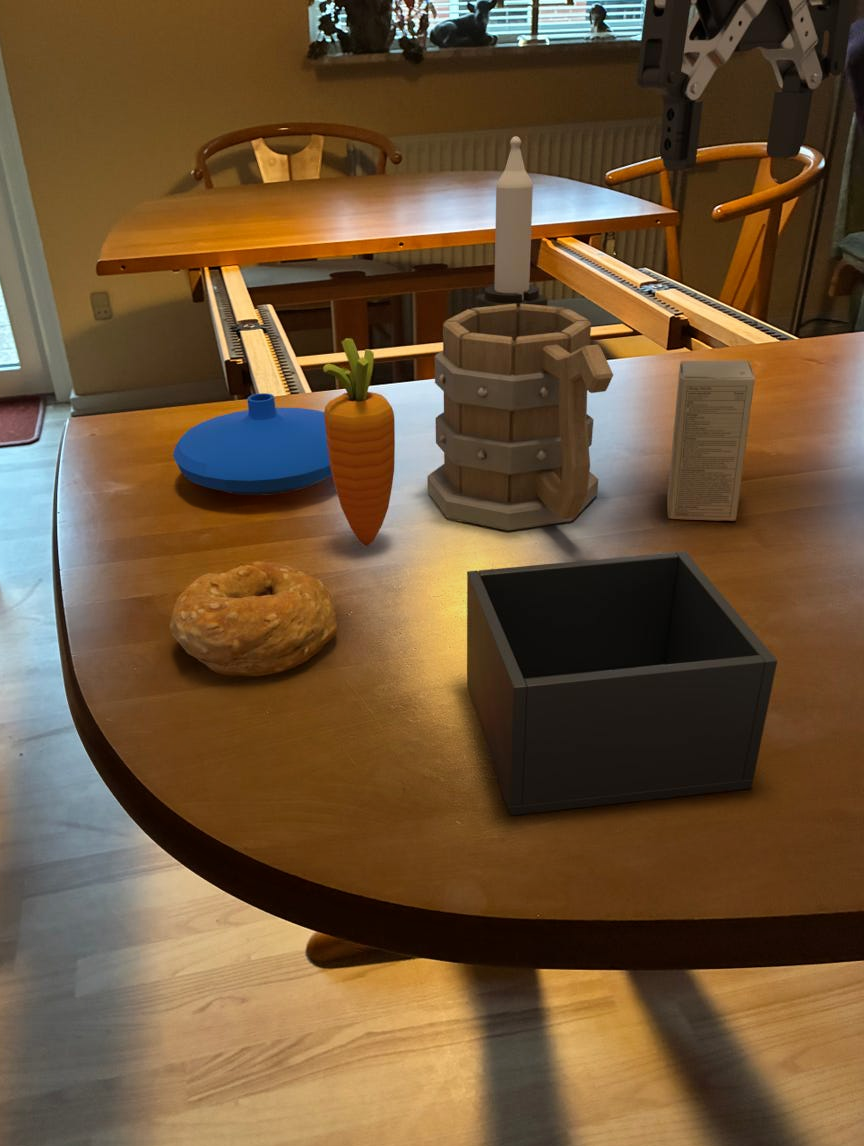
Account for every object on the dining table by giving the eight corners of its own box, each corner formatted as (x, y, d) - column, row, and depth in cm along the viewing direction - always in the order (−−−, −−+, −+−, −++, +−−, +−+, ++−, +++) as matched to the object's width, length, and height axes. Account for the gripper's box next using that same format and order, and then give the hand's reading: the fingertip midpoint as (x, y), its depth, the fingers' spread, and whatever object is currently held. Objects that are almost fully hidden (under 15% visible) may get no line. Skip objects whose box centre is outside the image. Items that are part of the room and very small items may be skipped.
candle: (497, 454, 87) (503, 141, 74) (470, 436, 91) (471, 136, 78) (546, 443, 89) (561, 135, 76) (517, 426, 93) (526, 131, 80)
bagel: (377, 632, 62) (373, 566, 60) (239, 708, 56) (228, 637, 54) (278, 583, 69) (271, 521, 66) (144, 646, 62) (130, 580, 60)
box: (732, 500, 77) (754, 359, 71) (736, 523, 74) (759, 377, 68) (663, 496, 78) (679, 358, 72) (664, 519, 75) (680, 375, 69)
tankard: (415, 477, 84) (410, 296, 76) (553, 458, 86) (562, 280, 78) (495, 584, 67) (499, 367, 59) (663, 556, 70) (689, 344, 62)
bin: (670, 665, 58) (685, 550, 54) (752, 788, 48) (778, 660, 44) (466, 686, 57) (466, 571, 53) (509, 816, 48) (514, 687, 44)
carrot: (394, 562, 71) (384, 354, 63) (327, 559, 71) (309, 353, 64) (404, 532, 75) (397, 333, 67) (341, 529, 76) (326, 332, 68)
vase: (181, 525, 77) (166, 440, 74) (175, 455, 91) (163, 379, 87) (376, 501, 80) (372, 417, 76) (343, 436, 93) (338, 361, 89)
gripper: (723, -183, 48) (683, 180, 56) (925, -175, 53) (861, 157, 62) (625, -157, 54) (603, 169, 62) (816, -152, 59) (771, 148, 67)
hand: (731, 163), depth 62 cm, fingers open, 8 cm apart
